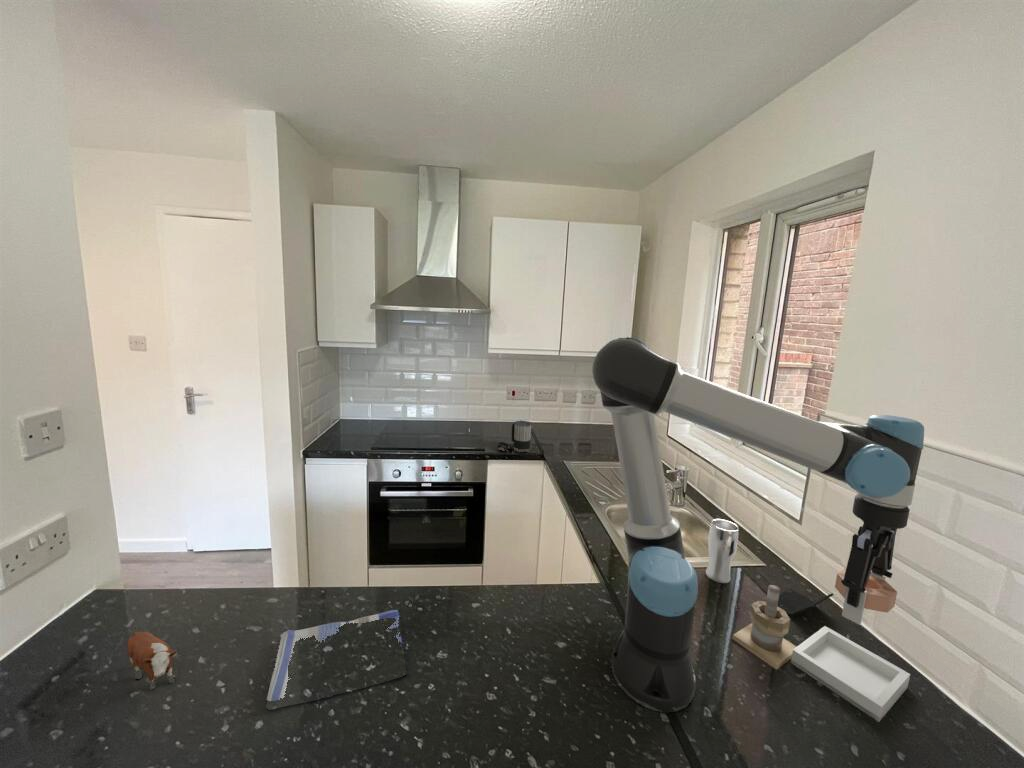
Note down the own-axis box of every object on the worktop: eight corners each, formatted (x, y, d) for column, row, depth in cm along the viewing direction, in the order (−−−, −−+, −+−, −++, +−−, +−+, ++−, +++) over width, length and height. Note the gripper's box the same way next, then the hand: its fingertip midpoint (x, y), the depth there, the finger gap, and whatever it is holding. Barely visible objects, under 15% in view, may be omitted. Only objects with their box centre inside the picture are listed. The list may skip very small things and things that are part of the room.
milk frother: (534, 451, 210) (535, 423, 208) (514, 457, 199) (515, 428, 197) (513, 444, 220) (515, 418, 218) (493, 450, 208) (494, 422, 206)
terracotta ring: (898, 602, 76) (901, 588, 75) (882, 617, 72) (885, 601, 71) (847, 578, 83) (849, 565, 82) (829, 590, 79) (831, 576, 78)
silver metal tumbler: (736, 586, 106) (743, 533, 104) (707, 582, 107) (714, 529, 105) (727, 571, 113) (734, 520, 110) (701, 566, 114) (707, 517, 112)
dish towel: (281, 639, 83) (281, 627, 82) (401, 616, 90) (401, 605, 90) (260, 717, 66) (260, 703, 66) (408, 681, 74) (408, 668, 74)
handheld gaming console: (781, 581, 107) (812, 567, 100) (804, 608, 103) (838, 595, 97) (762, 604, 100) (794, 590, 93) (787, 633, 97) (822, 621, 90)
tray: (878, 722, 70) (882, 707, 70) (790, 662, 82) (792, 649, 82) (907, 687, 78) (910, 674, 77) (822, 638, 89) (824, 625, 89)
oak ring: (776, 640, 81) (778, 627, 81) (744, 619, 87) (746, 607, 86) (792, 629, 85) (794, 616, 84) (760, 610, 90) (762, 597, 89)
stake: (776, 669, 80) (786, 608, 78) (732, 638, 88) (740, 581, 86) (798, 652, 85) (809, 594, 83) (755, 624, 92) (763, 570, 90)
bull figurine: (154, 710, 66) (149, 666, 65) (125, 670, 73) (120, 630, 72) (186, 690, 70) (182, 648, 69) (156, 654, 77) (152, 615, 76)
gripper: (878, 483, 83) (859, 584, 86) (832, 502, 72) (812, 617, 75) (928, 497, 76) (906, 606, 80) (886, 521, 66) (863, 645, 69)
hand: (860, 611), depth 78 cm, fingers closed on terracotta ring, 8 cm apart
